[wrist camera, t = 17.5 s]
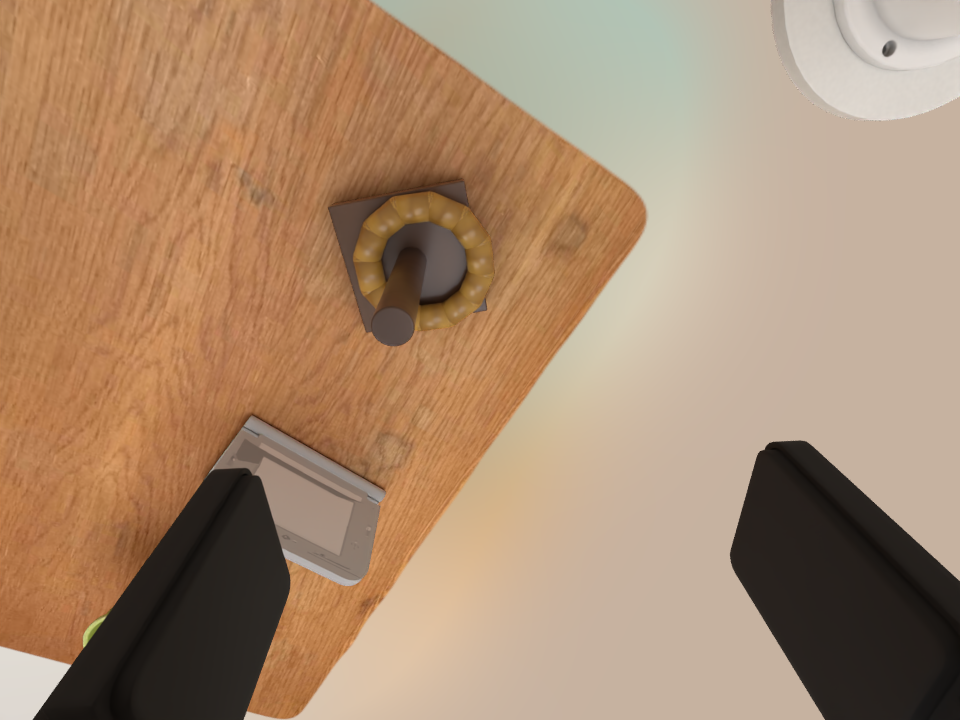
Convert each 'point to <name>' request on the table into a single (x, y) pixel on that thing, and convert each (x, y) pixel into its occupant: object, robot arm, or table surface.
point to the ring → (441, 214)
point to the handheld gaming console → (310, 501)
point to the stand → (404, 263)
